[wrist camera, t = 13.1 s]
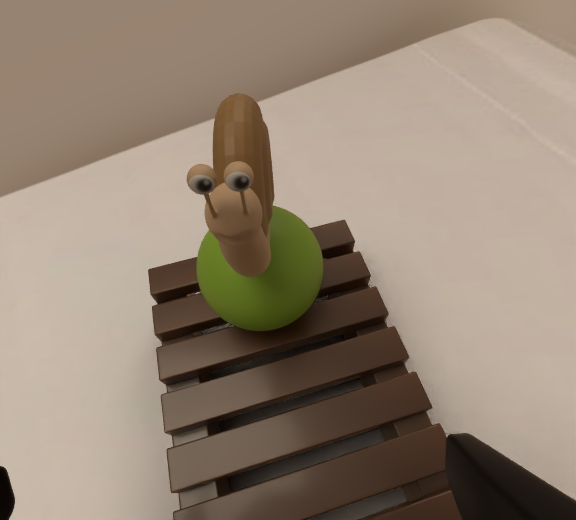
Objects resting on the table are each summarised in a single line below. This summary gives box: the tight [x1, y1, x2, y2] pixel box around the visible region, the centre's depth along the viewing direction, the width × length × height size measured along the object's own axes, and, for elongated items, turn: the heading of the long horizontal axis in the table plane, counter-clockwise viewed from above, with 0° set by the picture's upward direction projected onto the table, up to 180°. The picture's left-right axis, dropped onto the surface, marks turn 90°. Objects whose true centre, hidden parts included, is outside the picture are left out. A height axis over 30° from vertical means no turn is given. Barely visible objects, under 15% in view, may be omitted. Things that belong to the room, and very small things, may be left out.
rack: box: [148, 220, 462, 520], centre depth 18 cm, size 15×11×4 cm
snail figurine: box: [187, 94, 323, 331], centre depth 13 cm, size 5×6×12 cm
